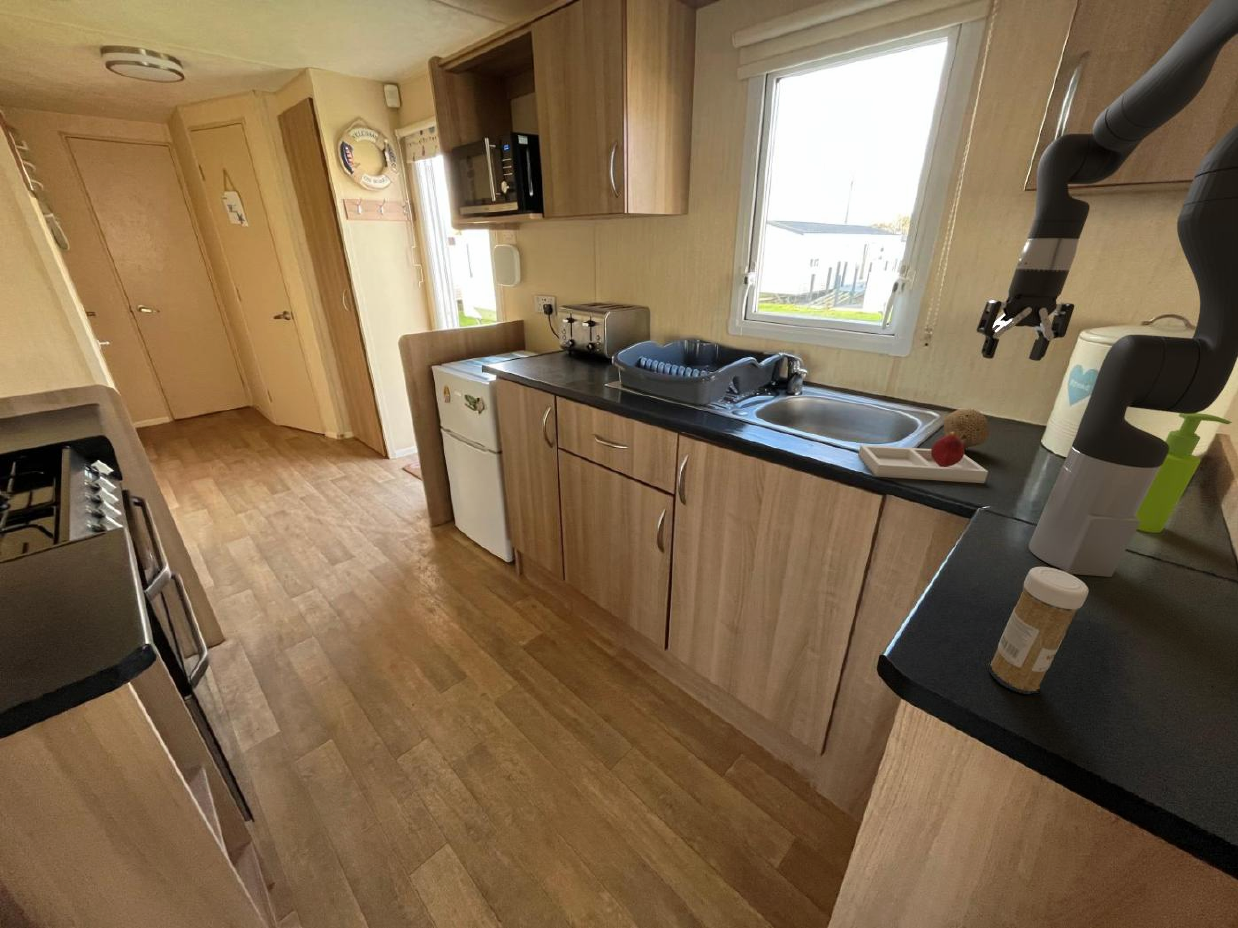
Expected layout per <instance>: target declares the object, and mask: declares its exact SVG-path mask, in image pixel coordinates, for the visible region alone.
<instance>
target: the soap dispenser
mask: <svg viewBox="0 0 1238 928" xmlns="http://www.w3.org/2000/svg"><path fill="white" fill-rule="evenodd" d="M1178 417H1180V418H1182V419H1183V422H1182V424H1181V426H1180V428H1179V429H1177V430H1172V431H1170V432H1169V433H1168V435H1167V437H1166V439H1165V440H1164V441H1165V442H1166V443H1167V444H1168V445H1169V452H1168V454H1167V457H1166V459H1165V460H1164V462H1163V464H1162V466H1161V468H1160V470H1159V472H1158V474H1157V475H1156V477H1155V479H1154V481H1153V483H1152V485H1151V487H1150V489H1149V490H1148V492H1147V494H1146V496H1145V498H1144V500H1143V502H1142V504H1141V506H1140V508H1139V510H1138V511H1137V513H1136V515H1135V517H1136V518H1138V519H1139V520H1140V524H1139V526H1138V528H1137V529H1136V531H1141V532H1145V533H1153V534H1155V533H1161V532H1162V531H1163V530H1164V528H1165V526H1166V525H1167V523H1168V521H1169V519H1170V517H1171V516H1172V513H1173V512H1174V510H1175V508H1176V506H1177V504H1178V503H1179V501H1180V499H1181V497H1182V496H1183V494H1184V492H1185V491H1186V489H1187V487H1188V485H1189V483H1190V482H1191V479H1192V477H1193V476H1194V474H1195V472H1196V470H1197V469H1198V467H1199V465H1200V463H1201V462H1202V459H1200V457H1197V456H1195V455H1193V453H1194V451H1195V449H1196V447H1197V445H1198V443H1199V441H1200V439H1201V436H1199V435H1198V434H1197V433H1196V431H1197V429H1198V428H1199V426H1200V424H1201V422H1202V421H1207V422H1217V423H1221V424H1225V425H1230V424H1231V423H1233V422H1232V421H1230V420H1228V419H1225V418H1222V417H1220V416H1217V415H1211V414H1207V413H1201V412H1198V413H1194V414H1183V413H1178Z"/></svg>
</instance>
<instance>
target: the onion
mask: <svg viewBox="0 0 1238 928" xmlns="http://www.w3.org/2000/svg"><path fill="white" fill-rule="evenodd" d="M930 449H931V455H932V458H933V459H934V461H935V462H936V463H937V464H938V465H939V466H940V467H948V466H952V465H954V464H956V463H958V462H959V461H960V460H961V459H962V458H963V456H964V454H965V449H964V446H963V443H962V442H961V441H960V440H959V439H958V438H957V437H956V433H955V432H950V434H949V435H948V436H946V437H945V436H943V437H940V438H939V439H937V440H935V442H934V443H933V445H932V446H931V448H930Z"/></svg>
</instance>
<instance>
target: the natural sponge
mask: <svg viewBox="0 0 1238 928" xmlns="http://www.w3.org/2000/svg"><path fill="white" fill-rule="evenodd" d="M950 432H955V433H956V437H957V438H958V439H959V440H960V441H961V442H962V443H963V446H964V450H966V449H968V448H970V447H977V446H980V445H982V444H984V443H985V442H987V441H988V439H989V437H990V435H991V434H990V433H991V432H990V427H989V422H988V420H987V418H986V417H985V416H984V414H983V413H981V412H980V411H979V410H977V409H974V408H967V409H966V408H965V409H964V408H962V409H957V410H955V411H952V412H951V413H950V414H949V413H948V415H947V416H946V417H945V418H944V421H943V434H944V437H946V436H948V435H949V434H950Z"/></svg>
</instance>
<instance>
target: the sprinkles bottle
mask: <svg viewBox="0 0 1238 928" xmlns="http://www.w3.org/2000/svg"><path fill="white" fill-rule="evenodd" d="M1024 579H1025V580H1024V582H1023V586H1022V592H1021V594H1020V597H1019V599H1018V601H1017V602H1016V605H1015V607H1013V610H1012V613H1011V615H1010V617H1009V619H1008V621H1007V624H1006V626H1005V628H1004V630H1003V632H1002V635H1001V638H1000V640H999V642H998V646H997V650H996V651H995V654H994V656H993V658H992V661H991V664H990V663H989V664H990V665H991V667H992V670H993V671H994V673H995V674H997V676H998V677H1000V678H1001V679H1002V680H1003V681H1005V682H1006V683H1009V685H1011V686H1013V687H1015V688H1017V689H1021V690H1025V691H1026V690H1027V691H1029V692H1030V691H1036V690H1037V689H1039V690H1040V688H1041V686H1039V685H1041V683H1042V681H1043V678H1044V676H1045V675H1046V673H1047V670H1048V669H1050V667H1051V664H1052V663H1053V660H1054V657H1055V656H1056V654H1057V652H1058V650H1059V647H1060V645H1061V644H1062V641H1063V640H1064V638H1065V635H1066V631H1068V628H1069V626H1070V624H1071V623H1072V620H1073V618H1074V616H1075V615H1076V612H1077V611H1078V610H1079V609H1081V607H1083V605H1084V603H1085V601H1086V599H1087V597H1088V595H1089V587H1088V586H1087V585H1086V583H1085V582H1084V581H1082V580H1081V579H1080V578H1078V577H1076V576H1074V574H1068V573H1066V572H1064V571H1063V570H1061V569H1057V568H1055V567H1054V568H1053V567H1047V566H1036V567H1033V568H1030V569H1029V571H1028V572H1027V575H1026V577H1025V578H1024Z"/></svg>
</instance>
